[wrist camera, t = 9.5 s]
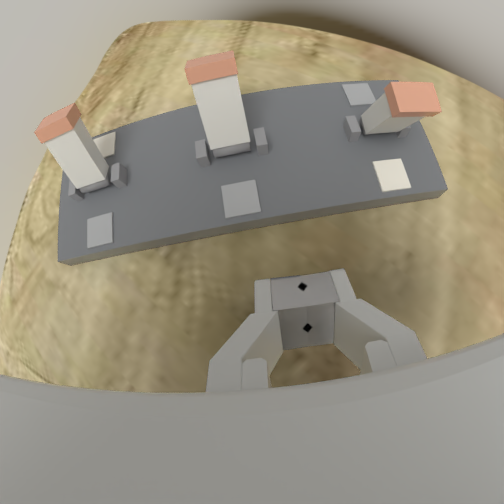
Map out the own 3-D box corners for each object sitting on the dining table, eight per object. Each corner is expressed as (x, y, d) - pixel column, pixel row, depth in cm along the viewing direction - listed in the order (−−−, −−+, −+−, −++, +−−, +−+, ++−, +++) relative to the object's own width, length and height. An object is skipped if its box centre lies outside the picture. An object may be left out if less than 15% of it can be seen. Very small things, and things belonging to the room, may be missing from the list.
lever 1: (112, 190, 23) (65, 116, 17) (82, 199, 24) (34, 132, 17) (116, 174, 24) (74, 102, 18) (87, 183, 25) (43, 118, 18)
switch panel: (438, 197, 23) (455, 182, 20) (70, 265, 25) (47, 258, 22) (393, 92, 26) (402, 70, 22) (76, 156, 28) (58, 141, 25)
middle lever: (254, 155, 22) (234, 57, 16) (213, 164, 23) (184, 69, 16) (251, 142, 24) (233, 50, 17) (213, 150, 24) (187, 61, 18)
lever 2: (394, 137, 23) (441, 111, 15) (360, 140, 23) (399, 112, 15) (388, 115, 22) (432, 82, 14) (355, 117, 23) (390, 81, 15)
